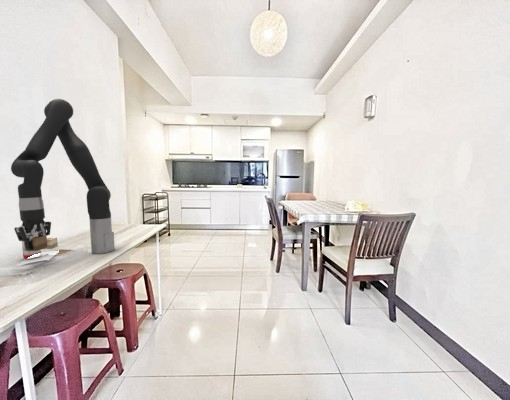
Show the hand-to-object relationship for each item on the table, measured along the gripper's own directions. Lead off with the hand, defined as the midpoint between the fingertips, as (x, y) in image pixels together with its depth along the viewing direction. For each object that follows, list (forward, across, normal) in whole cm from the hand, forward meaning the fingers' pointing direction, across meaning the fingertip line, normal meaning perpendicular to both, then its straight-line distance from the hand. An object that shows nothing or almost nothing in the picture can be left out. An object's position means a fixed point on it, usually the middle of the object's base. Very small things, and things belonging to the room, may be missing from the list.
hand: (36, 247), depth 101 cm
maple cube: (+8, +26, +20) cm, 34 cm away
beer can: (+8, +10, +13) cm, 18 cm away
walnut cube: (+1, 0, 0) cm, 1 cm away
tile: (+8, +18, +7) cm, 21 cm away
